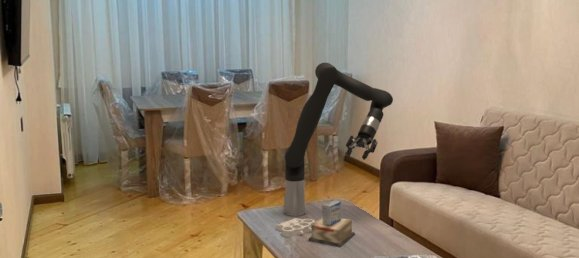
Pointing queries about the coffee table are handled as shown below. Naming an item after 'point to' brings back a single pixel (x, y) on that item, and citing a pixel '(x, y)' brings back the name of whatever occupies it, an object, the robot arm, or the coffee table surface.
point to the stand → (332, 232)
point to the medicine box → (331, 212)
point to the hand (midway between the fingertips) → (355, 157)
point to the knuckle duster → (295, 227)
